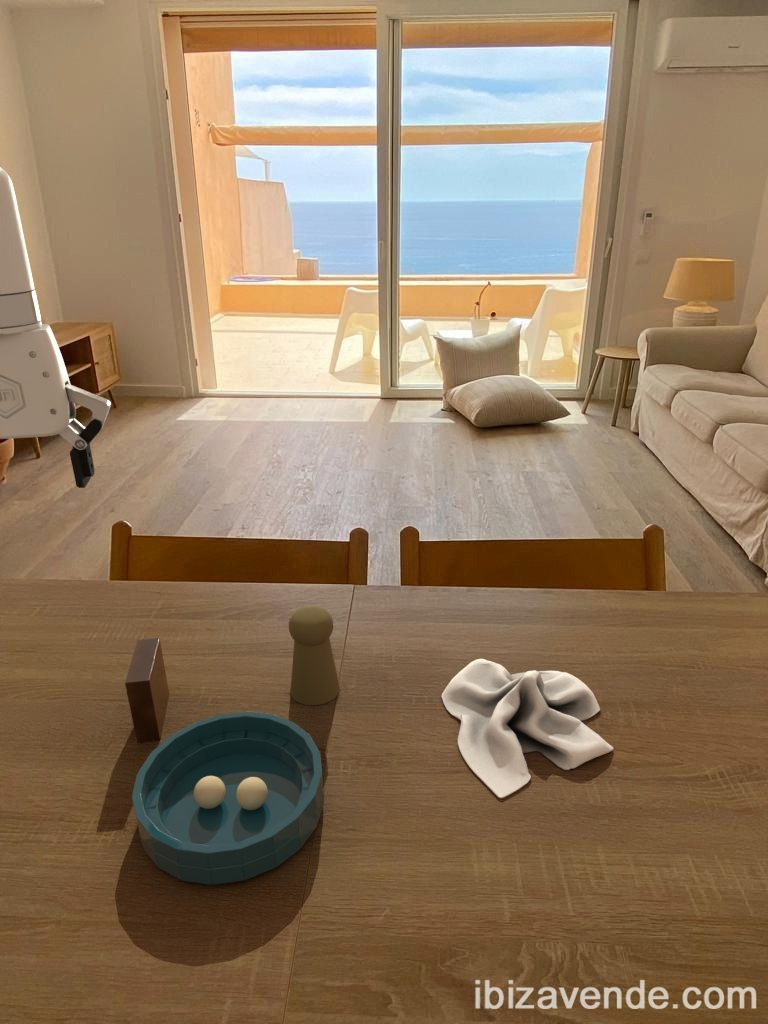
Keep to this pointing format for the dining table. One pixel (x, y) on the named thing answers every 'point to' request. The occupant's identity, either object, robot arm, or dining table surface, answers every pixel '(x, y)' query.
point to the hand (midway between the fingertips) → (34, 486)
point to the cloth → (520, 721)
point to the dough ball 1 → (209, 792)
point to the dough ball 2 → (251, 793)
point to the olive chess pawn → (313, 656)
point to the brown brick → (147, 690)
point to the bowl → (229, 797)
